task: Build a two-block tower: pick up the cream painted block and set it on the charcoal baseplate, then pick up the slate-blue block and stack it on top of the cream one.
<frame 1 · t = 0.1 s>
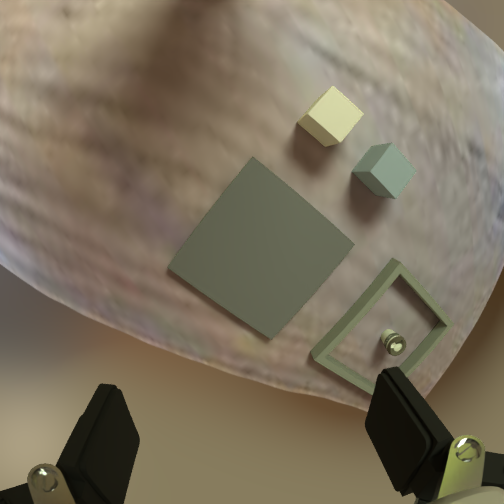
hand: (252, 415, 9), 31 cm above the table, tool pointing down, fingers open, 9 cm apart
slate block: (373, 170, 38), on the table
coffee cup: (385, 332, 46), on the table
cup coaster rim: (387, 335, 45), on the table
baseplate: (262, 252, 40), on the table
cream block: (322, 121, 36), on the table
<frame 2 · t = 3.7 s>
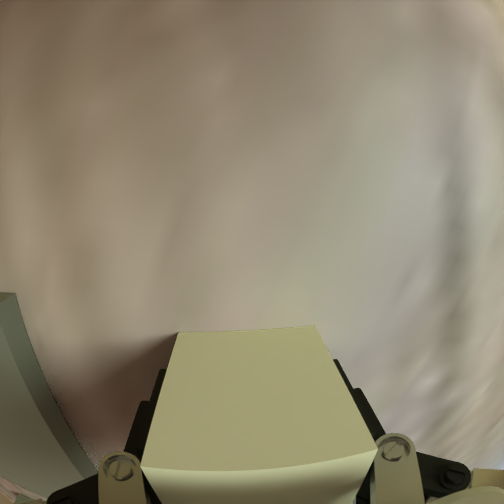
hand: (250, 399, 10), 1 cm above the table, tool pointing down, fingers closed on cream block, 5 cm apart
cream block: (249, 382, 11), on the table, touching gripper
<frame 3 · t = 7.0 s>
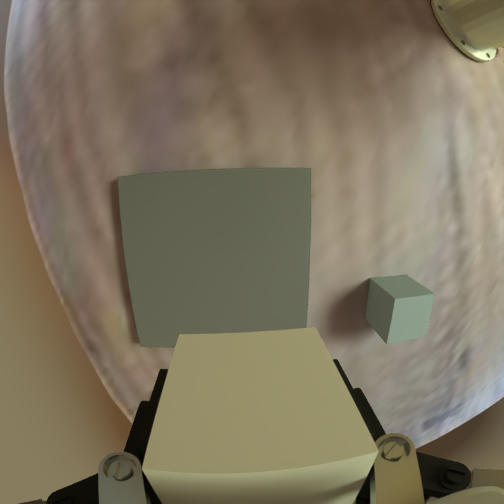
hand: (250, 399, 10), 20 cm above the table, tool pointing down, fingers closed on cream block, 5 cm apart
slate block: (386, 296, 32), on the table
baseplate: (216, 261, 29), on the table
cream block: (250, 384, 11), point 19 cm above the table, touching gripper
when the fingers open (4 cm above the table, at t = 10.6 s): cream block drops 1 cm, resting on baseplate.
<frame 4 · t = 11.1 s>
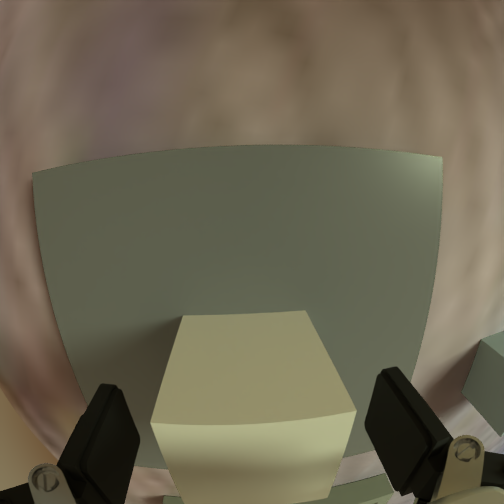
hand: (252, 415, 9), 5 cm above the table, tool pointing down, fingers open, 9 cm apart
slate block: (490, 359, 16), on the table
baseplate: (245, 345, 14), on the table
cream block: (246, 363, 12), point 1 cm above the table, touching baseplate
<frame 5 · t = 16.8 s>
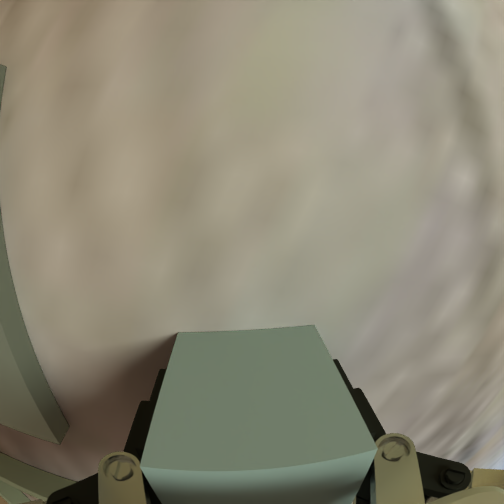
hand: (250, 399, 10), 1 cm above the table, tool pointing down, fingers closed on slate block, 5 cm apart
slate block: (249, 382, 11), on the table, touching gripper
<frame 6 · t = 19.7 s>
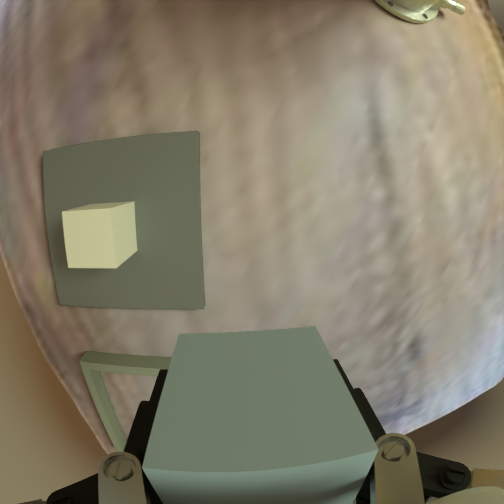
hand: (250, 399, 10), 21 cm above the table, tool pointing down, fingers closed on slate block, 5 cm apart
slate block: (250, 383, 11), point 20 cm above the table, touching gripper
cup coaster rim: (165, 410, 36), on the table
baseplate: (119, 224, 29), on the table
cream block: (113, 227, 28), point 1 cm above the table, touching baseplate
when the fingers open (10 cm above the table, at t = 23.1 s): slate block drops 1 cm, resting on cream block.
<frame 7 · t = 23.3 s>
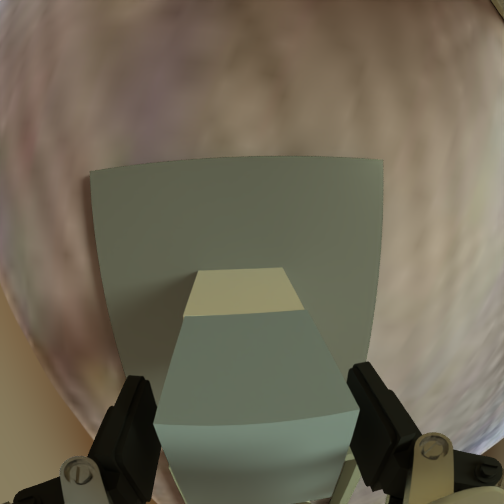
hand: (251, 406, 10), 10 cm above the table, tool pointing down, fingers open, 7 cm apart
slate block: (248, 363, 12), point 7 cm above the table, touching cream block
cup coaster rim: (270, 489, 26), on the table
baseplate: (241, 297, 20), on the table
cream block: (241, 307, 18), point 1 cm above the table, touching baseplate, slate block
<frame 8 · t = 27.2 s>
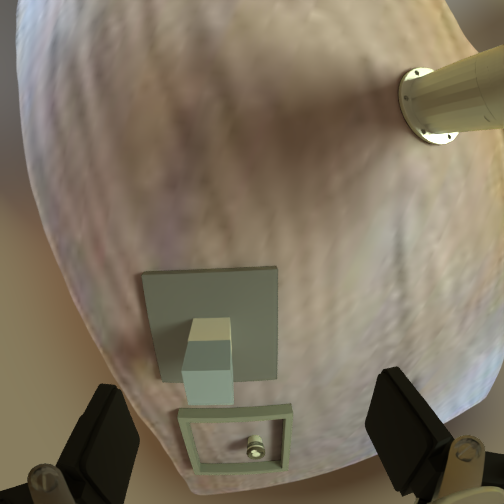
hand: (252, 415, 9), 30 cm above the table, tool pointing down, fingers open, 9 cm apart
slate block: (211, 357, 34), point 7 cm above the table, touching cream block
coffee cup: (254, 435, 49), on the table
cup coaster rim: (238, 440, 48), on the table
baseplate: (213, 328, 42), on the table
cream block: (212, 333, 40), point 1 cm above the table, touching baseplate, slate block
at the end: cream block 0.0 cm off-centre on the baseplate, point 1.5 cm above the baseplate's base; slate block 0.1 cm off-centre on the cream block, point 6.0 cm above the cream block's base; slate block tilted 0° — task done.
